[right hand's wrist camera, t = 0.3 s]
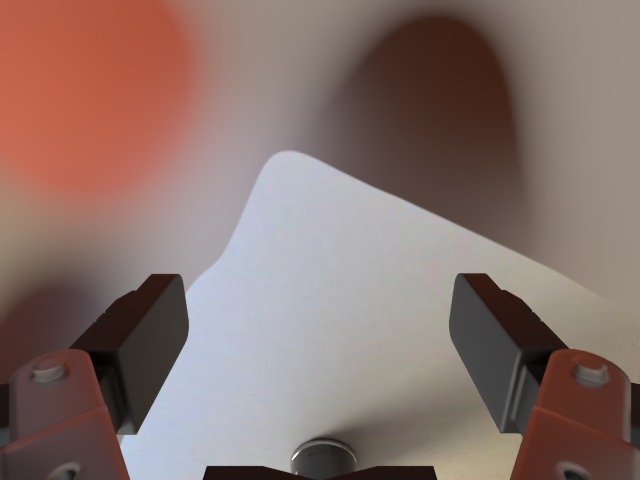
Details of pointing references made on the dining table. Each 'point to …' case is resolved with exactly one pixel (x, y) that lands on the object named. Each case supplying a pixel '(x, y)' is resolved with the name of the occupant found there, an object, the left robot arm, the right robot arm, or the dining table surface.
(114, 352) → the right robot arm
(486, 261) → the dining table surface
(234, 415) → the dining table surface
